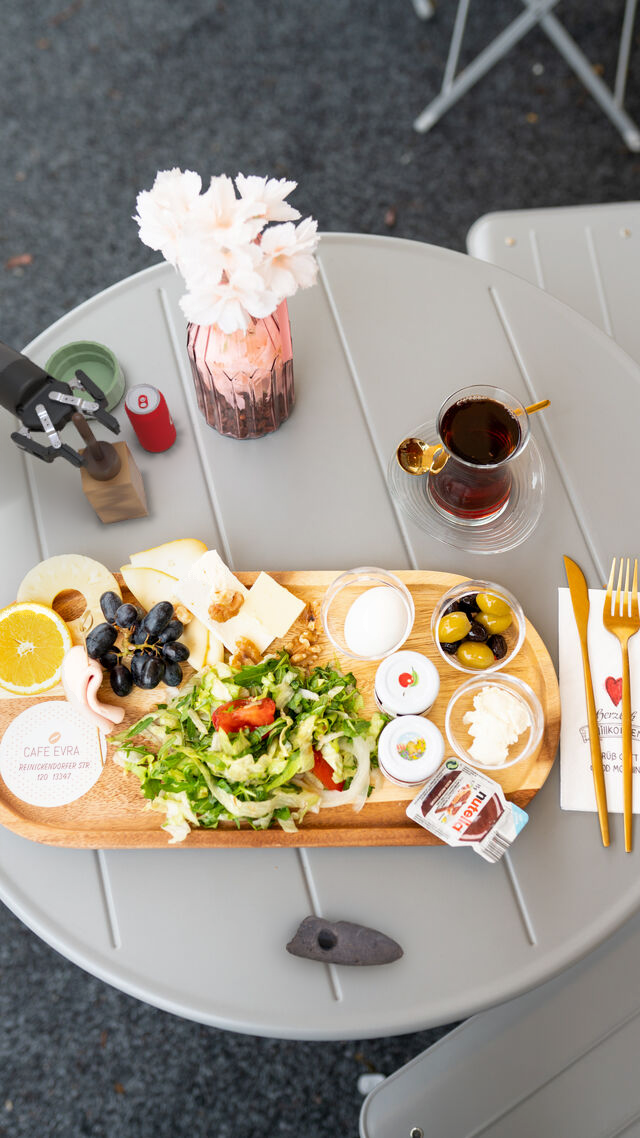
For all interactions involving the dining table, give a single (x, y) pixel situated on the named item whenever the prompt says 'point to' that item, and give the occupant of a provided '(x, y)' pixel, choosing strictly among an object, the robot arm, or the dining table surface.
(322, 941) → the perforated stone tool
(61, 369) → the bowl
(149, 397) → the beverage can
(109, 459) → the brown handled round part
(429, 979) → the dining table surface
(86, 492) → the wooden square block
